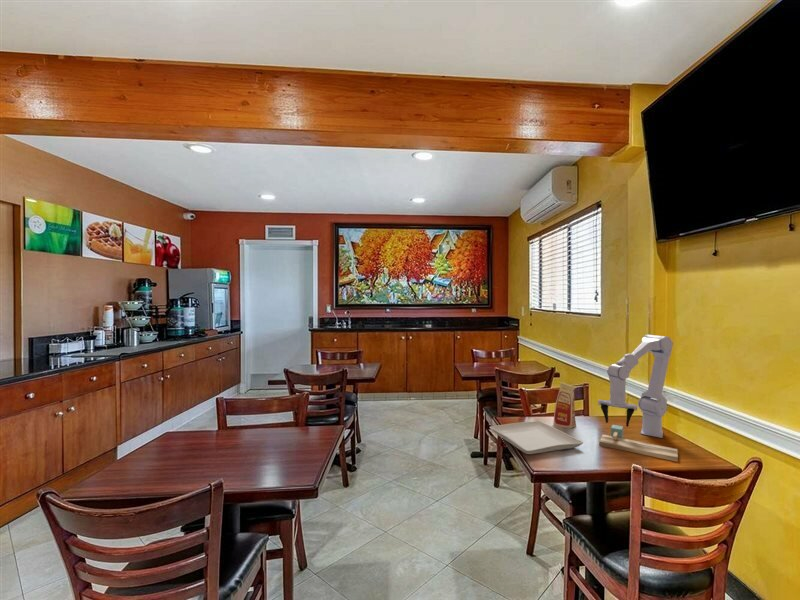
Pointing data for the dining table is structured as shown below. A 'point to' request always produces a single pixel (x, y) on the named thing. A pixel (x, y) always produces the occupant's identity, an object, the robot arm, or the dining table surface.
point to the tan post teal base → (617, 431)
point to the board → (639, 447)
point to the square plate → (535, 437)
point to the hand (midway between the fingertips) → (617, 424)
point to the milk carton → (565, 407)
